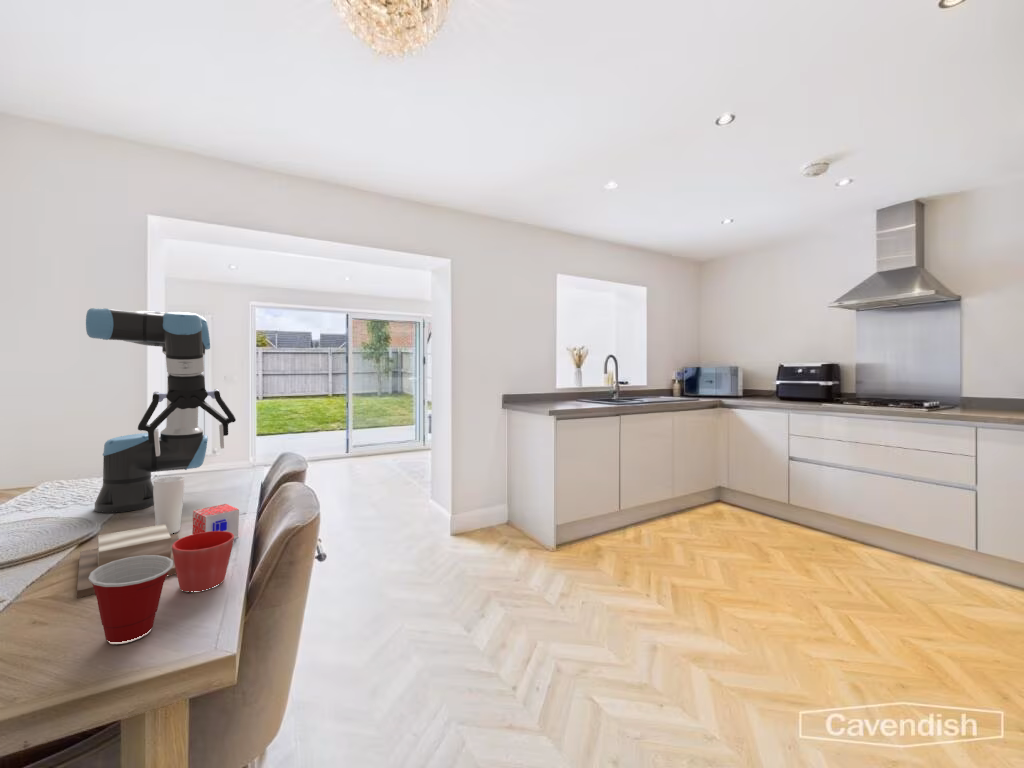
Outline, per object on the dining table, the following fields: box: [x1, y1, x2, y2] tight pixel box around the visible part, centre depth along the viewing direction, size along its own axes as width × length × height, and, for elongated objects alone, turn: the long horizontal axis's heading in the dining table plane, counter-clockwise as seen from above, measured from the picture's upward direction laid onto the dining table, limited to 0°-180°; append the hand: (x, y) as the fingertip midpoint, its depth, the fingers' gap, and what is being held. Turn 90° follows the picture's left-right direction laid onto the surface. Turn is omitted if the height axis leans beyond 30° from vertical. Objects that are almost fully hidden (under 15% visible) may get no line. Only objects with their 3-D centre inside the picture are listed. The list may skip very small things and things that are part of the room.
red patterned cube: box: [192, 503, 240, 539], centre depth 113 cm, size 8×8×8 cm
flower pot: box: [172, 531, 235, 592], centre depth 89 cm, size 11×11×10 cm
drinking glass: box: [153, 476, 186, 535], centre depth 116 cm, size 7×7×15 cm
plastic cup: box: [89, 555, 173, 642], centre depth 72 cm, size 11×11×12 cm
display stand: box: [76, 524, 180, 599], centre depth 97 cm, size 24×18×6 cm
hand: (191, 450), depth 111 cm, fingers open, 13 cm apart
